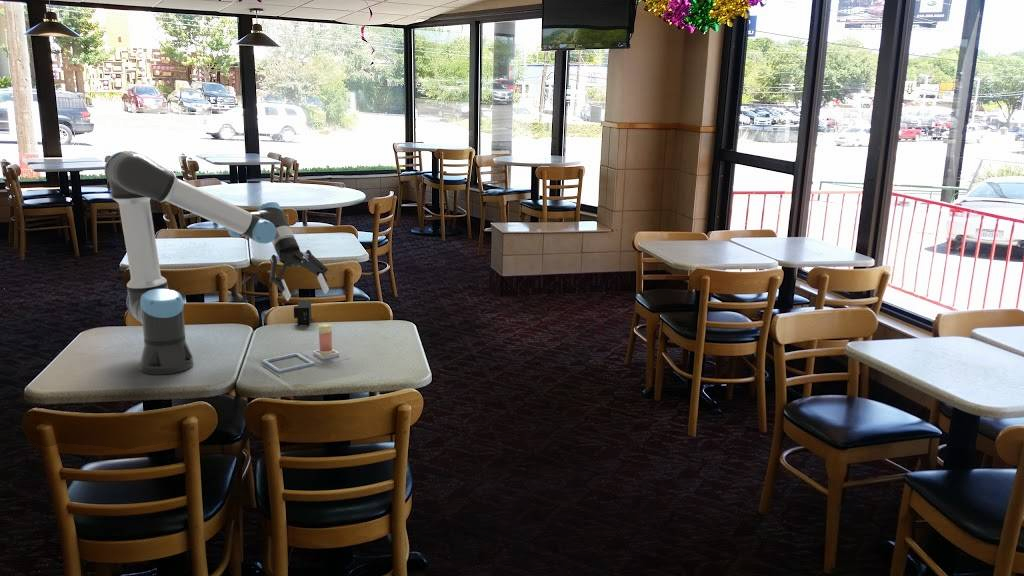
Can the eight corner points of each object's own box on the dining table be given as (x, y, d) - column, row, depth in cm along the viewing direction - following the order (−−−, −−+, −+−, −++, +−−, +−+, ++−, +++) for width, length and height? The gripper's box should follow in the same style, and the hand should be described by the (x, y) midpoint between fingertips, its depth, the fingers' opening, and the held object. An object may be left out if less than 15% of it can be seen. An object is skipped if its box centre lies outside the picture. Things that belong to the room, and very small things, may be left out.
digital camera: (296, 318, 299) (295, 300, 297) (311, 317, 300) (310, 299, 298) (294, 326, 289) (293, 307, 287) (309, 325, 290) (308, 307, 288)
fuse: (323, 358, 251) (322, 328, 249) (317, 354, 254) (315, 325, 252) (335, 355, 254) (334, 326, 251) (328, 352, 257) (327, 322, 254)
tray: (278, 377, 238) (278, 370, 238) (262, 366, 247) (261, 360, 246) (314, 369, 246) (314, 362, 245) (297, 359, 254) (297, 352, 254)
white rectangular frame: (322, 369, 246) (322, 360, 245) (301, 356, 256) (301, 349, 256) (351, 362, 253) (350, 354, 252) (329, 351, 263) (329, 343, 262)
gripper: (314, 244, 277) (338, 294, 270) (246, 253, 261) (269, 307, 254) (321, 231, 272) (345, 282, 265) (251, 240, 256) (275, 295, 249)
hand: (308, 295), depth 260 cm, fingers open, 13 cm apart
